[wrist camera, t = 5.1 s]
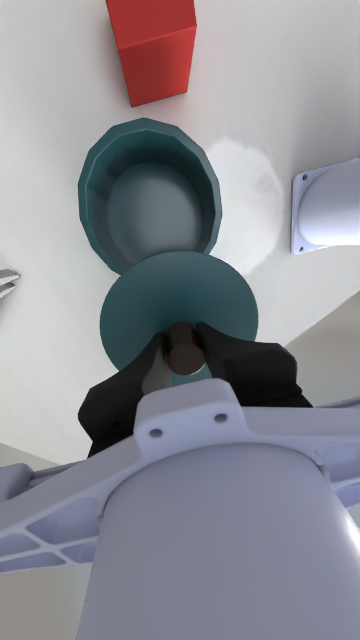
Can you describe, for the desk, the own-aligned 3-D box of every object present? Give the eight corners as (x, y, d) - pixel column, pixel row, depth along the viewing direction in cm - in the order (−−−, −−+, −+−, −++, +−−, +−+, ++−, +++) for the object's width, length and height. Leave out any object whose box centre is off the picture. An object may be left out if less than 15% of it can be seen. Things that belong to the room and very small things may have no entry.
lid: (247, 230, 12) (288, 224, 8) (255, 368, 17) (283, 405, 13) (75, 273, 12) (33, 288, 8) (134, 396, 17) (125, 442, 13)
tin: (195, 142, 16) (209, 98, 11) (213, 262, 21) (229, 268, 16) (83, 173, 17) (48, 143, 12) (125, 285, 21) (112, 298, 16)
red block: (173, -3, 13) (177, -136, 8) (187, 92, 15) (197, 26, 11) (109, 16, 13) (79, -106, 9) (131, 107, 15) (117, 49, 11)
